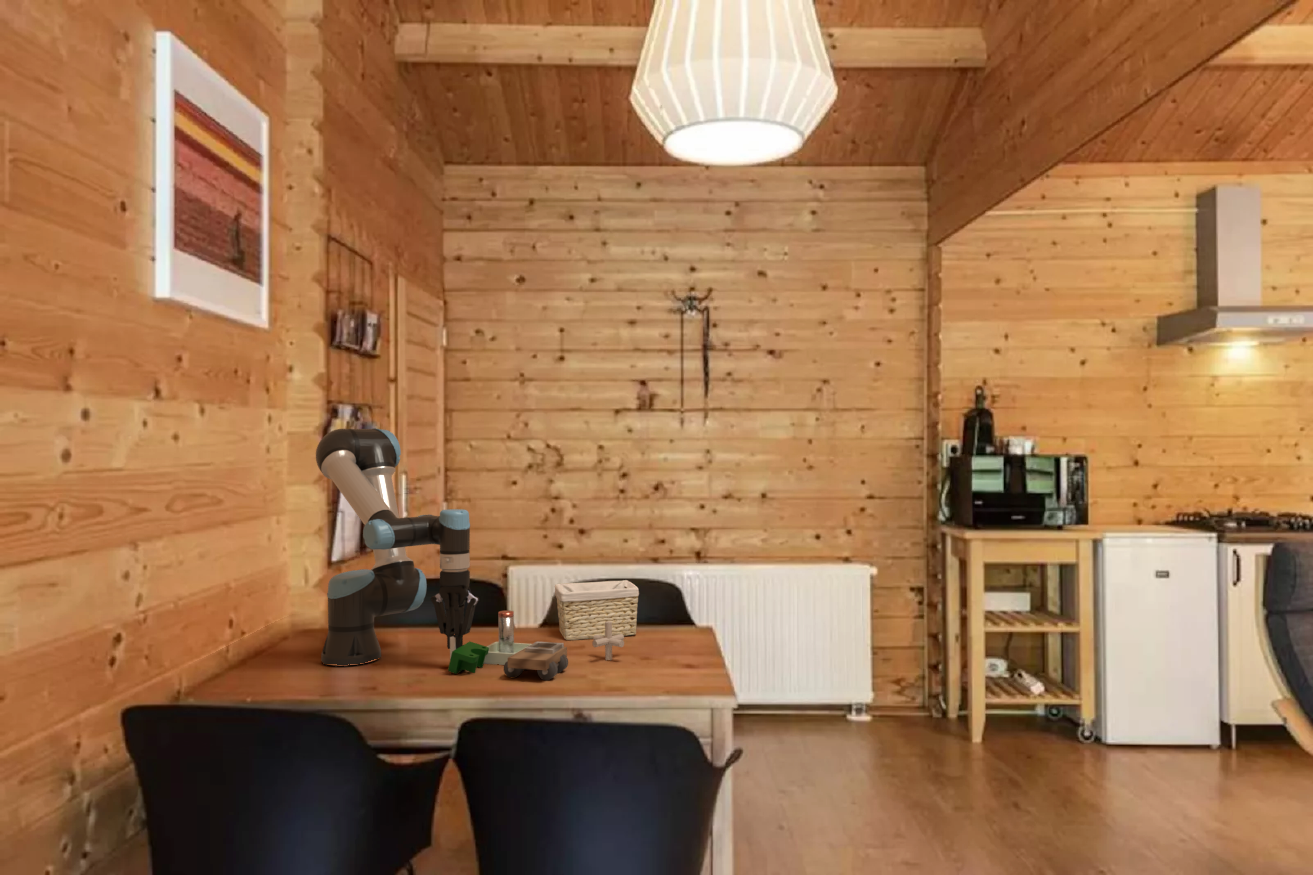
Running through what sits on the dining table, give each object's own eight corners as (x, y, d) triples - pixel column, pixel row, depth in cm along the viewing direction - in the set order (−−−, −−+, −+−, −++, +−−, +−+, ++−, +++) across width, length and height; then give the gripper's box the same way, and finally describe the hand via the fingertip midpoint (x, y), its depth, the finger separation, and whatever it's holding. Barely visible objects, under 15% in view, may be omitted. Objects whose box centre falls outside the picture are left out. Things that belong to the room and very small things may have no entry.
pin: (496, 658, 229) (495, 613, 229) (502, 654, 233) (502, 610, 233) (510, 659, 228) (509, 613, 228) (516, 655, 232) (515, 610, 232)
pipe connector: (582, 660, 229) (581, 622, 229) (609, 653, 236) (608, 616, 236) (608, 666, 222) (607, 627, 222) (635, 659, 229) (634, 621, 230)
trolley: (499, 679, 210) (499, 653, 210) (523, 665, 224) (523, 640, 224) (550, 683, 207) (550, 656, 207) (571, 668, 220) (571, 643, 220)
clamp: (468, 691, 216) (471, 662, 212) (447, 684, 217) (448, 655, 213) (489, 661, 227) (491, 634, 223) (468, 655, 228) (470, 627, 224)
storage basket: (560, 642, 250) (560, 591, 250) (553, 630, 266) (553, 582, 266) (641, 637, 256) (640, 587, 256) (629, 626, 272) (629, 579, 272)
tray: (476, 663, 227) (476, 651, 227) (495, 652, 238) (495, 641, 238) (516, 665, 224) (516, 654, 224) (534, 655, 235) (534, 644, 235)
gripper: (424, 570, 220) (425, 663, 219) (470, 572, 216) (470, 666, 216) (439, 566, 227) (440, 656, 227) (484, 568, 223) (484, 659, 223)
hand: (455, 661), depth 221 cm, fingers closed
